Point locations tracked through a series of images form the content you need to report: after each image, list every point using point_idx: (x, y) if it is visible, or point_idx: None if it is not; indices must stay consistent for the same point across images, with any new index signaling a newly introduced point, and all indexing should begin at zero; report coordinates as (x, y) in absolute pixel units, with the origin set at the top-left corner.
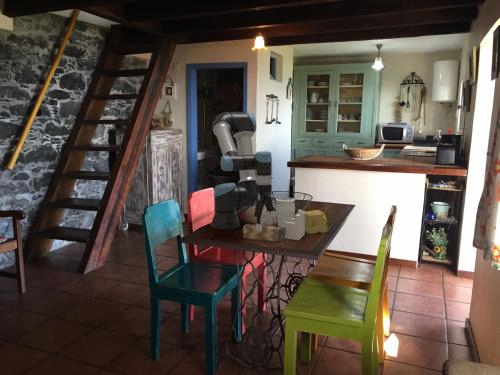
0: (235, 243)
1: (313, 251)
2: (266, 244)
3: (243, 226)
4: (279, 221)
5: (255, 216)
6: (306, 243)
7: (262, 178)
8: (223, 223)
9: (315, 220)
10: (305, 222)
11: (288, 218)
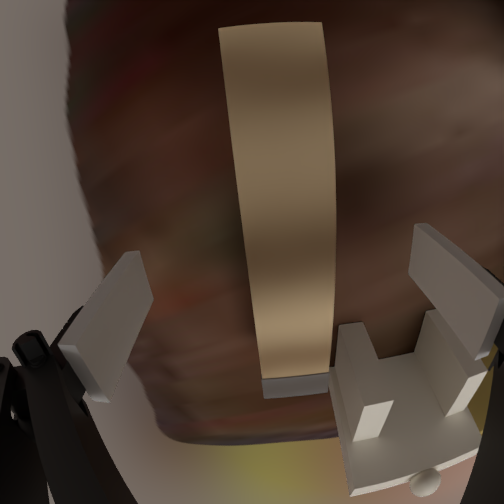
0: (79, 95)
1: (202, 439)
2: (168, 282)
3: (218, 30)
4: None
5: (30, 353)
6: (289, 411)
7: None
8: None
9: None
10: (491, 374)
11: None
